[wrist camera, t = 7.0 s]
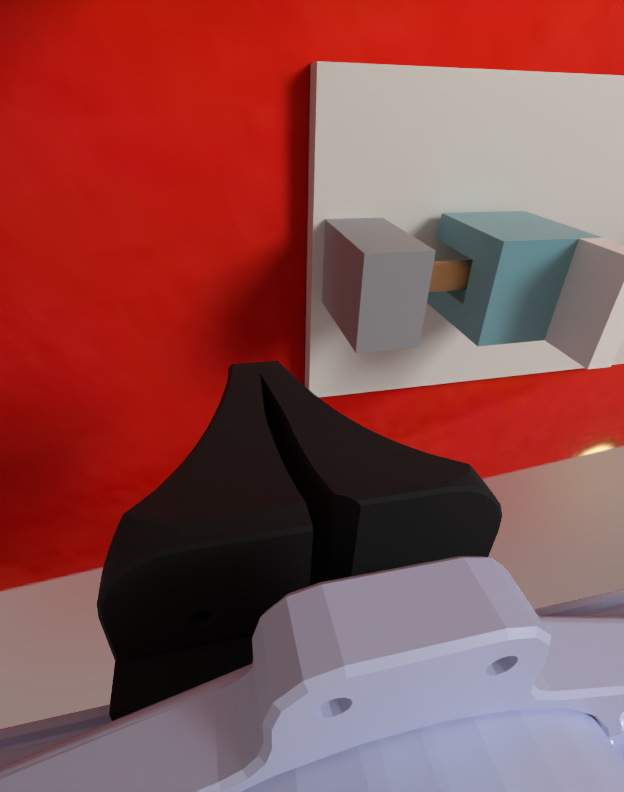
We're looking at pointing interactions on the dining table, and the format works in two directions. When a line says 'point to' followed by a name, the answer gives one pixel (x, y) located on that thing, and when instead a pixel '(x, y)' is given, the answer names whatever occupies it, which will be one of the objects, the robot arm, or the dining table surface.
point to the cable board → (440, 207)
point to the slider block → (535, 285)
